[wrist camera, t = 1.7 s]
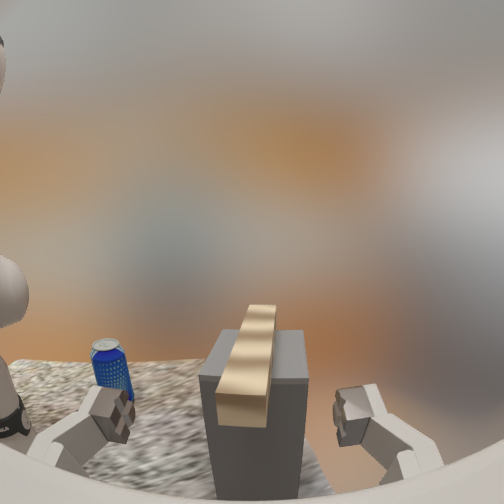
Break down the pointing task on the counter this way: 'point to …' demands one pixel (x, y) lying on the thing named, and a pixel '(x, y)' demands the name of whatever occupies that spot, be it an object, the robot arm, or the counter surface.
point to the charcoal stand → (255, 438)
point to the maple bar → (248, 371)
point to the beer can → (111, 365)
